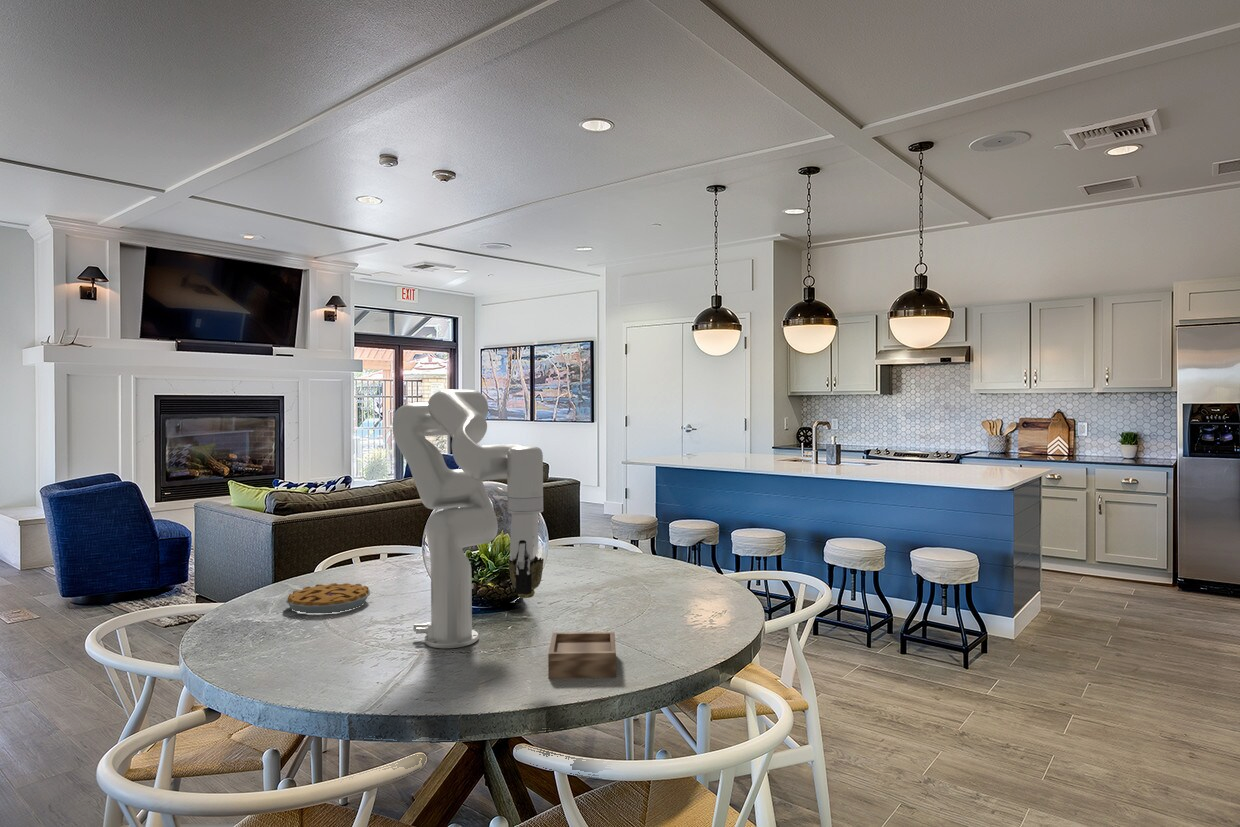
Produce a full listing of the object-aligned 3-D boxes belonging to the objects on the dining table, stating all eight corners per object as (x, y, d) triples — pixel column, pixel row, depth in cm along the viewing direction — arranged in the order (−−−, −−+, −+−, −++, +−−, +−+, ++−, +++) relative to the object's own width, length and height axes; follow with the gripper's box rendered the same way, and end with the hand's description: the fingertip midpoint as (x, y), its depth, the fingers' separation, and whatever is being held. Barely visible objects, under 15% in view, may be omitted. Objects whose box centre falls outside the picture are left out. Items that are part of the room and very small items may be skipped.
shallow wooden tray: (548, 680, 152) (548, 653, 152) (552, 656, 166) (552, 632, 166) (615, 679, 153) (615, 652, 152) (614, 656, 167) (614, 632, 166)
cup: (510, 602, 151) (509, 563, 151) (506, 593, 158) (506, 556, 158) (546, 599, 153) (545, 561, 153) (541, 591, 160) (541, 554, 160)
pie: (268, 615, 200) (268, 597, 199) (319, 594, 221) (319, 578, 221) (339, 620, 194) (339, 601, 194) (385, 599, 216) (384, 582, 216)
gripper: (513, 499, 164) (514, 579, 164) (500, 510, 147) (501, 600, 147) (547, 499, 164) (548, 579, 164) (538, 510, 147) (539, 599, 147)
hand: (526, 588), depth 156 cm, fingers closed on cup, 6 cm apart
